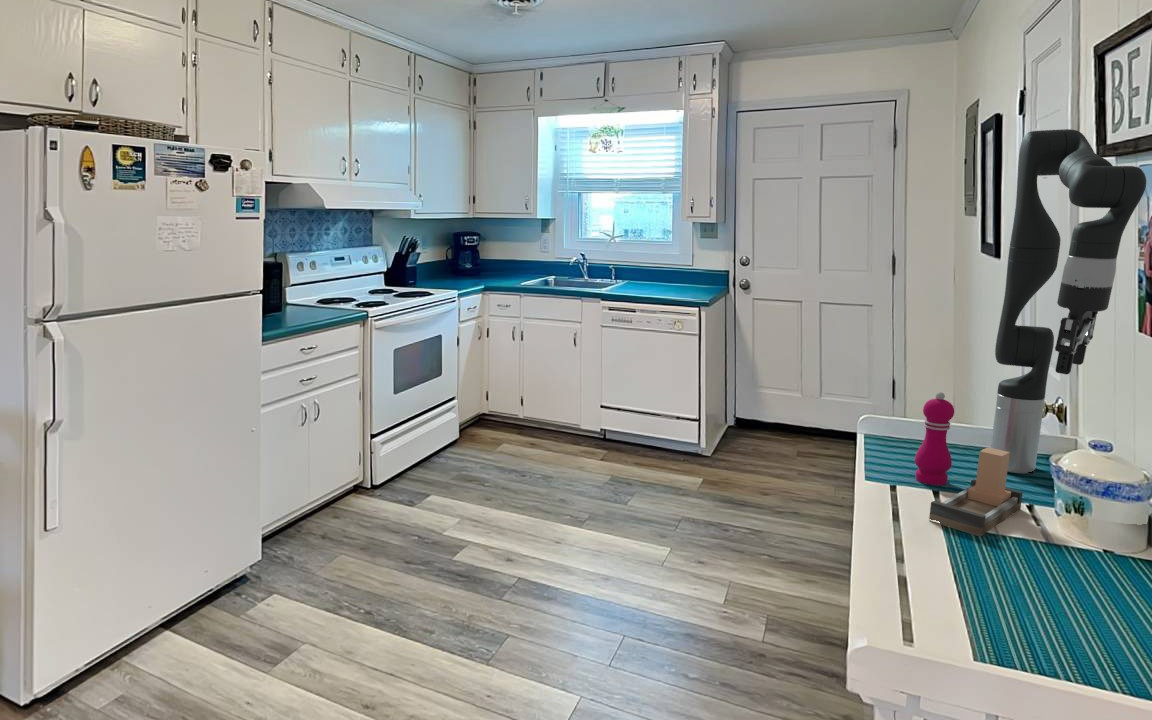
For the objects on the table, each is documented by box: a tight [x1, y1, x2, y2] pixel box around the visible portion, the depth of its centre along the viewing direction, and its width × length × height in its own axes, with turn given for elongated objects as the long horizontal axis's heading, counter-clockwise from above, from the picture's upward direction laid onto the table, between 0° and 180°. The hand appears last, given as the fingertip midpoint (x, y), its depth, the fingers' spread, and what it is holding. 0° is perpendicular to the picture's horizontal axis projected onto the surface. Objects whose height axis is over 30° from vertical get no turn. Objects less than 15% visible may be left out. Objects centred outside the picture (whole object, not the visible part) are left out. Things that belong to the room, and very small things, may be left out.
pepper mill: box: [914, 391, 955, 486], centre depth 152 cm, size 7×7×20 cm
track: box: [928, 479, 1024, 538], centre depth 134 cm, size 20×9×4 cm, turn 130°
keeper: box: [968, 446, 1011, 507], centre depth 137 cm, size 5×6×10 cm
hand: (1069, 368), depth 129 cm, fingers open, 8 cm apart
